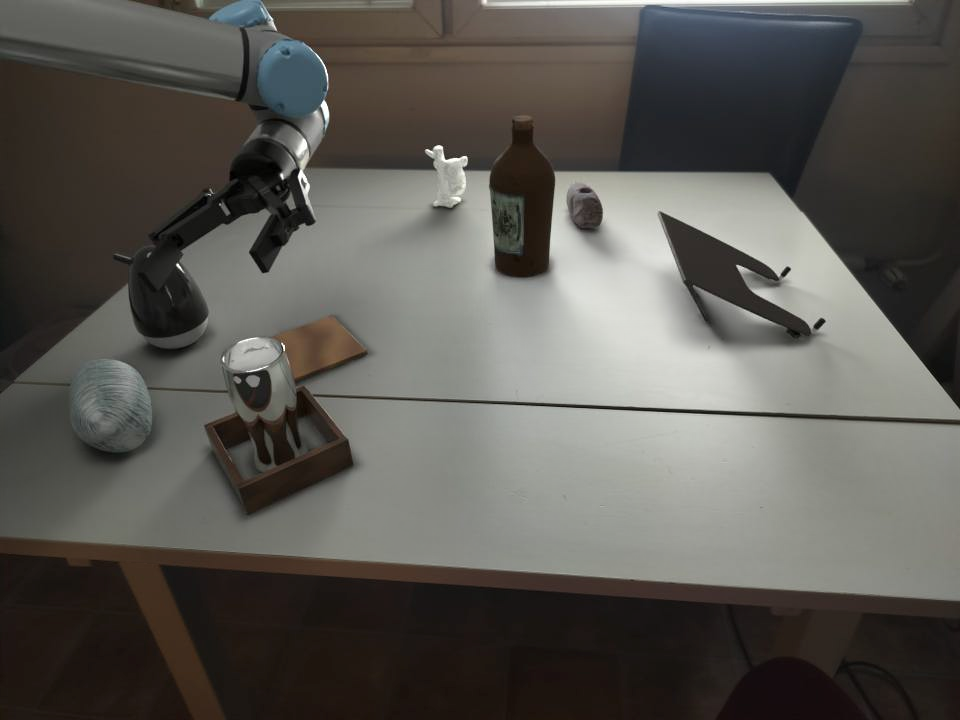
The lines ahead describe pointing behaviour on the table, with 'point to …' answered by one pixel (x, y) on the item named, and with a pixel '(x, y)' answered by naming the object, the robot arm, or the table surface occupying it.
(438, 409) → the table surface
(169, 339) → the pump dispenser
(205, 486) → the table surface
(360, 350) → the cork mat
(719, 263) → the laptop tray
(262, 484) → the frame
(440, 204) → the white irregular figure
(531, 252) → the olive oil
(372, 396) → the table surface
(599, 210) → the perforated stone tool
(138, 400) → the grey ovoid lump
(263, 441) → the beer glass
